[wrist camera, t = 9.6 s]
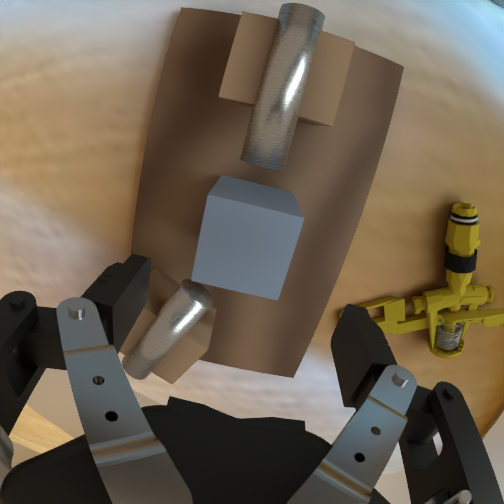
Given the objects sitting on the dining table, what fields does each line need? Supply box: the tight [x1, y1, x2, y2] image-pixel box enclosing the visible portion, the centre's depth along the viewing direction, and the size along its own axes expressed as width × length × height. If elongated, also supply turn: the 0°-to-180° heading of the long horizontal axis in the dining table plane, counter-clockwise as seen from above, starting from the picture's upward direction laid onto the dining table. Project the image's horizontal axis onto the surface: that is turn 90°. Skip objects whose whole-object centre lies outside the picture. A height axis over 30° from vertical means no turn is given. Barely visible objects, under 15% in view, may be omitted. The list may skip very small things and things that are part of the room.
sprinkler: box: [339, 203, 504, 358], centre depth 24 cm, size 19×4×15 cm
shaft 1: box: [122, 279, 213, 380], centre depth 21 cm, size 2×9×2 cm, turn 141°
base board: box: [120, 7, 404, 384], centre depth 20 cm, size 16×28×6 cm, turn 166°
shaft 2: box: [240, 3, 325, 171], centre depth 15 cm, size 2×9×2 cm, turn 166°
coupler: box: [191, 175, 304, 300], centre depth 20 cm, size 5×5×6 cm
